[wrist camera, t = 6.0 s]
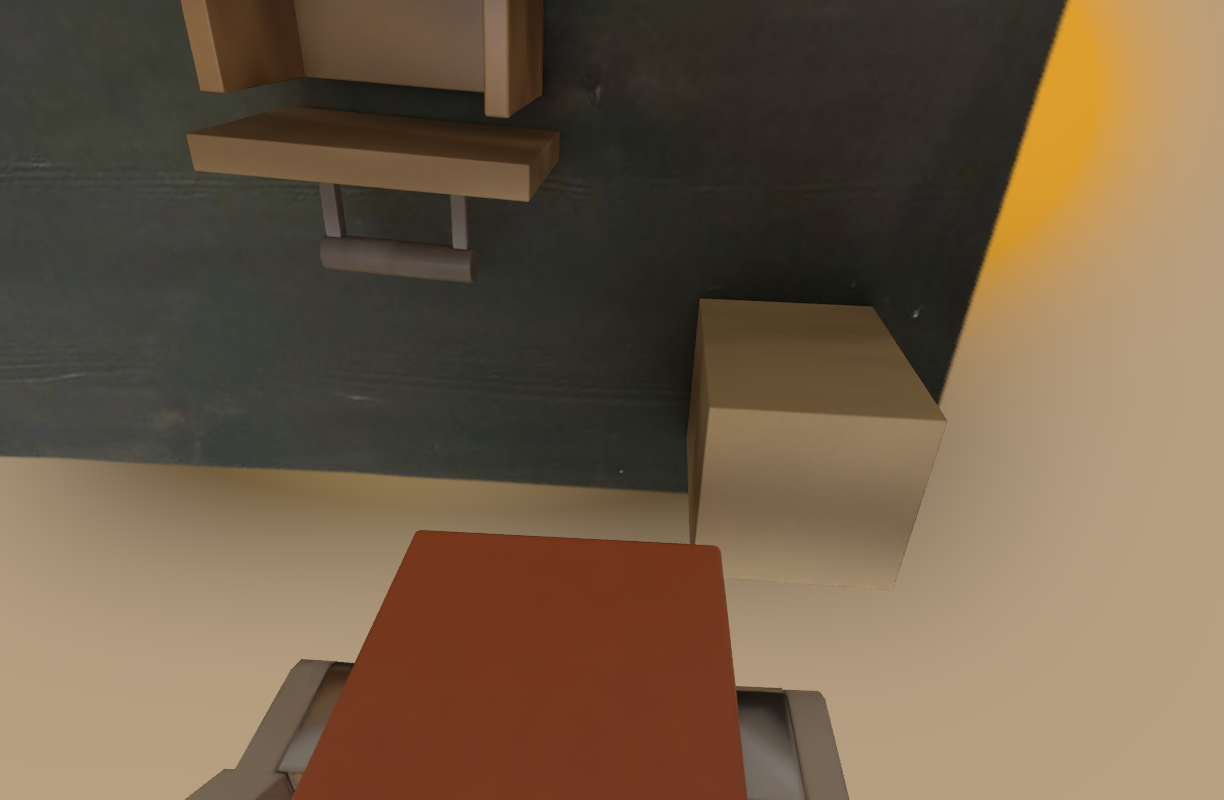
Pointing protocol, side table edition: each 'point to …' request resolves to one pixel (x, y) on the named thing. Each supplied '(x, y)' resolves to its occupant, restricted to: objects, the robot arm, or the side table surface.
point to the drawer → (369, 143)
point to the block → (540, 677)
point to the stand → (806, 443)
